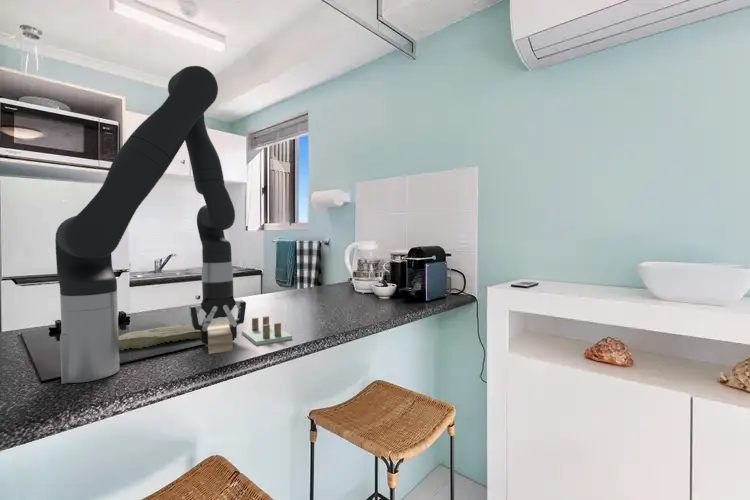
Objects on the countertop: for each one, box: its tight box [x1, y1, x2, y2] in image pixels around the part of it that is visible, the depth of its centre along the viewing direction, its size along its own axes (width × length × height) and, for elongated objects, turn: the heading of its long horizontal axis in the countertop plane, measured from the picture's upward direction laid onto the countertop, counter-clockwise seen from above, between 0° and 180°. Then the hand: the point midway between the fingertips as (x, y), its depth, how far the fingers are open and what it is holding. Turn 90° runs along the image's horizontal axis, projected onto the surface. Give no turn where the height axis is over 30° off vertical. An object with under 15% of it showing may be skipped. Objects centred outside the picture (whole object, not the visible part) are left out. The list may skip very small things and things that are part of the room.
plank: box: [207, 322, 234, 355], centre depth 96 cm, size 14×6×4 cm, turn 26°
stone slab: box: [118, 320, 231, 351], centre depth 103 cm, size 12×4×30 cm
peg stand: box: [241, 315, 293, 346], centre depth 104 cm, size 14×10×4 cm
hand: (219, 341), depth 96 cm, fingers closed on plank, 6 cm apart
